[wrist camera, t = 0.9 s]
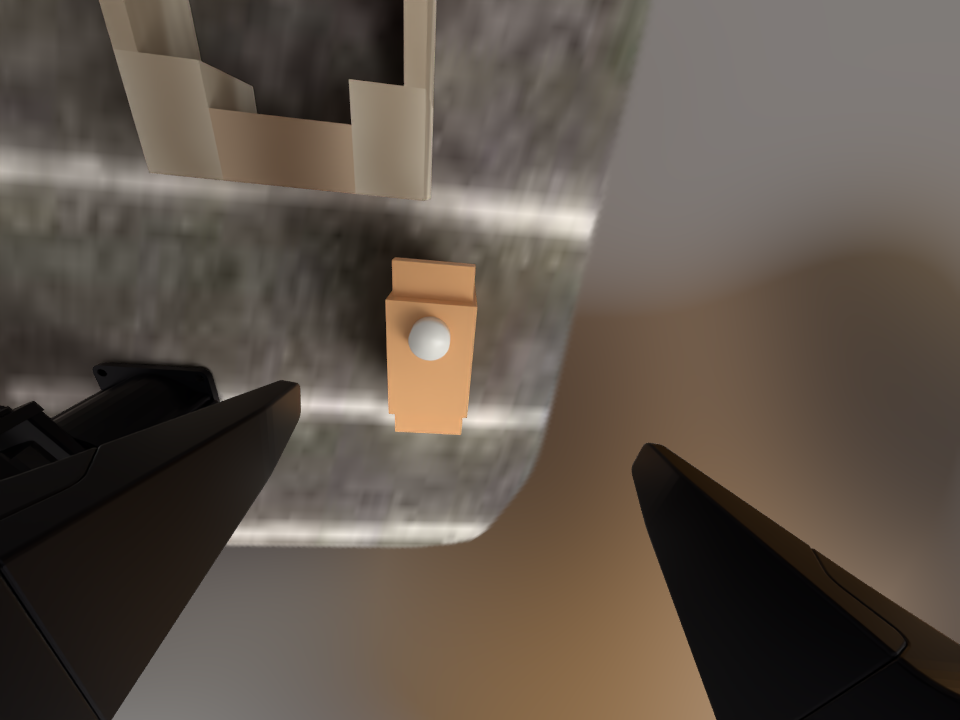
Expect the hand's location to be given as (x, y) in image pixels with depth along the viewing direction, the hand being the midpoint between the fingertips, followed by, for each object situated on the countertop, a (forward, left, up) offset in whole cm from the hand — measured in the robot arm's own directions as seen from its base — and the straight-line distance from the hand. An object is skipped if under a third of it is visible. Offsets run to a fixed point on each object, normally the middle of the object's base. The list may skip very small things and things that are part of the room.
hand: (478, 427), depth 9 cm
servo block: (-2, -2, -13) cm, 13 cm away
